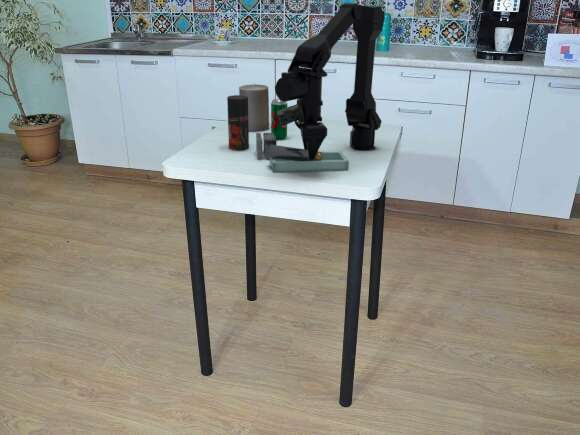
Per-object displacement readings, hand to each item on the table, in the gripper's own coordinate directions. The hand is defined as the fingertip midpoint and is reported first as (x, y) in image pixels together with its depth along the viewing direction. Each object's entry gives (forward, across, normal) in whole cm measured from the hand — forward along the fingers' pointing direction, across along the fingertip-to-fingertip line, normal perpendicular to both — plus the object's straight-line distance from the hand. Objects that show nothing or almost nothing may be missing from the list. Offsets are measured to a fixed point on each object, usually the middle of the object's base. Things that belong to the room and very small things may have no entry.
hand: (308, 154), depth 147 cm
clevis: (+3, -10, -11) cm, 15 cm away
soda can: (+3, -28, -5) cm, 29 cm away
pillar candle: (+4, -42, -12) cm, 43 cm away
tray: (+3, 0, 0) cm, 3 cm away
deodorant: (+3, -18, -18) cm, 26 cm away
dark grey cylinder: (+2, 0, -4) cm, 4 cm away
